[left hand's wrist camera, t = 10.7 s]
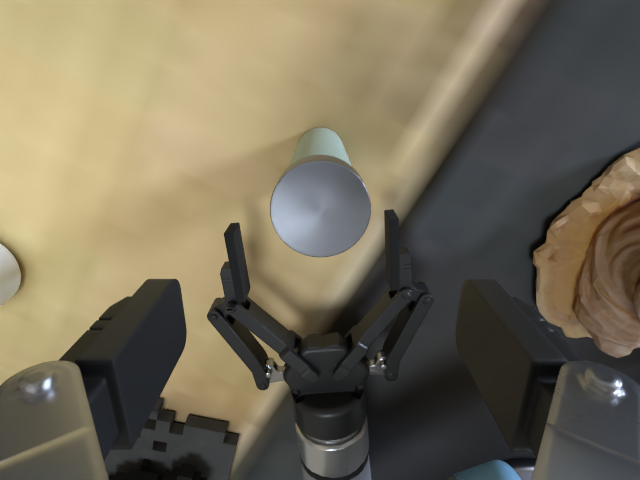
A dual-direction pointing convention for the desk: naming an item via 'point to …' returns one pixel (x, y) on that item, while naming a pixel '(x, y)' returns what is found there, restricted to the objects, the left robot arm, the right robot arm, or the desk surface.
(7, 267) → the mug
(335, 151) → the bottle
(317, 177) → the lid
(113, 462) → the abstract sculpture
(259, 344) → the right robot arm
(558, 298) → the sculpture
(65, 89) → the desk surface
